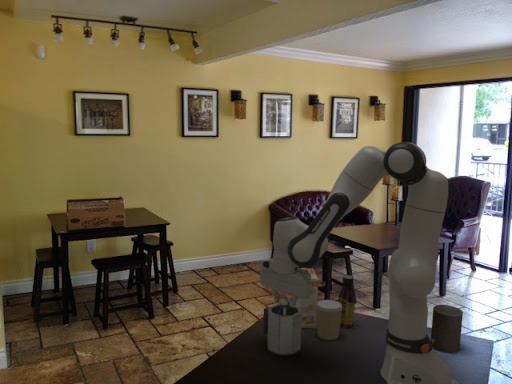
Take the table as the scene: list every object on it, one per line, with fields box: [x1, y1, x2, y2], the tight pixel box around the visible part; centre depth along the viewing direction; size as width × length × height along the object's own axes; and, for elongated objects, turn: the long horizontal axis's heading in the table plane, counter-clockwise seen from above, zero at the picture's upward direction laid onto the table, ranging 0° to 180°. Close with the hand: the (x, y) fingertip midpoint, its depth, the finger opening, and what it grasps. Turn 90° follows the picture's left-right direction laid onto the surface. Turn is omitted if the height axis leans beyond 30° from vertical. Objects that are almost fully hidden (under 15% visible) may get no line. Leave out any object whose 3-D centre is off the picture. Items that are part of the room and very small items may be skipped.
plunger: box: [278, 295, 292, 315], centre depth 153 cm, size 8×8×14 cm
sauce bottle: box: [337, 274, 356, 329], centre depth 174 cm, size 7×6×20 cm
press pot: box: [262, 303, 302, 358], centre depth 155 cm, size 14×11×14 cm
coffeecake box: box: [296, 267, 319, 329], centre depth 178 cm, size 15×7×20 cm, turn 1°
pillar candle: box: [430, 304, 464, 354], centre depth 157 cm, size 10×10×15 cm
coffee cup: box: [316, 299, 342, 341], centre depth 165 cm, size 9×9×12 cm
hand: (284, 304), depth 153 cm, fingers open, 5 cm apart
